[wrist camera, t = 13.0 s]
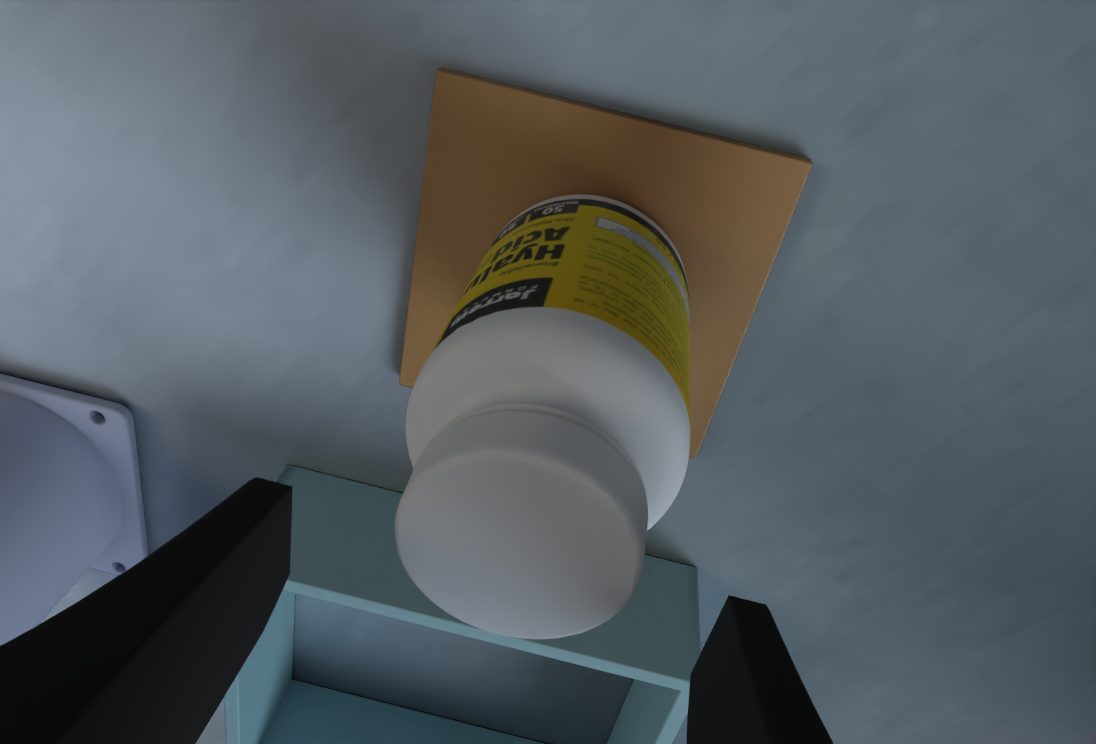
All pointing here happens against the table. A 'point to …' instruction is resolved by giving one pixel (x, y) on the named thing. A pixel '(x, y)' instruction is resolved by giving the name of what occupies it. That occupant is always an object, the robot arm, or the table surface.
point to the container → (386, 589)
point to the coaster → (609, 171)
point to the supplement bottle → (550, 423)
